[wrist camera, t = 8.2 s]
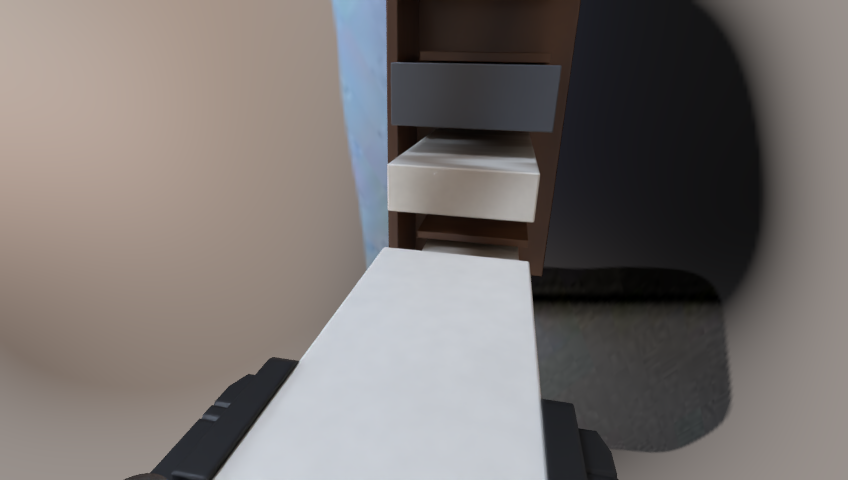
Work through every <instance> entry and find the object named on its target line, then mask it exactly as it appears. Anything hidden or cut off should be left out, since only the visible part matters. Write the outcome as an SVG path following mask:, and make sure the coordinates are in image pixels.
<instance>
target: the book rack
mask: <svg viewBox="0 0 848 480" xmlns="http://www.w3.org/2000/svg"><path fill="white" fill-rule="evenodd" d="M580 3H581V0H386V21H387V119H388V165H387V182H388V217H389V248H399V249H409V250H419V251H429V252H439V253H449V254H459V255H469V256H479V257H489V258H499V259H509V260H519V261H528V262H529V264H530V275H536V276H542V273H543V265H544V258H545V251H546V244H547V237H548V230H549V222H550V215H551V209H552V201H553V194H554V186H555V180H556V173H557V166H558V159H559V152H560V145H561V138H562V130H563V123H564V116H565V109H566V102H567V95H568V87H569V80H570V74H571V67H572V59H573V52H574V44H575V38H576V31H577V23H578V16H579V10H580Z"/></svg>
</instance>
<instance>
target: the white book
mask: <svg viewBox="0 0 848 480" xmlns="http://www.w3.org/2000/svg"><path fill="white" fill-rule="evenodd" d="M212 480H548V478H547V466H546V454H545V443H544V431H543V419H542V407H541V389H540V377H539V366H538V354H537V343H536V332H535V320H534V309H533V297H532V286H531V275H530V264H529V262H528V261H519V260H509V259H499V258H489V257H479V256H469V255H459V254H449V253H439V252H429V251H419V250H409V249H399V248H389V247H384V248H383V249H382V250H381V252H380V253H379V255H378V256H377V257H376V259H375V260H374V261H373V263H372V264H371V265H370V267H369V268H368V269H367V271H366V272H365V273H364V275H363V276H362V278H361V279H360V280H359V281H358V283H357V284H356V286H355V287H354V288H353V290H352V291H351V293H350V294H349V295H348V296H347V298H346V299H345V300H344V302H343V303H342V304H341V306H340V307H339V308H338V310H337V311H336V313H335V314H334V315H333V317H332V318H331V319H330V321H329V322H328V323H327V325H326V326H325V327H324V329H323V330H322V331H321V333H320V334H319V335H318V337H317V338H316V339H315V341H314V342H313V344H312V345H311V346H310V348H309V349H308V350H307V352H306V353H305V354H304V356H303V357H302V358H301V360H300V361H299V362H298V364H297V365H296V366H295V368H294V369H293V370H292V372H291V373H290V375H289V376H288V377H287V379H286V380H285V381H284V383H283V384H282V385H281V387H280V388H279V389H278V391H277V392H276V393H275V395H274V396H273V397H272V399H271V400H270V401H269V403H268V404H267V406H266V407H265V408H264V410H263V411H262V412H261V414H260V415H259V416H258V418H257V419H256V420H255V422H254V423H253V424H252V426H251V427H250V428H249V430H248V431H247V432H246V434H245V435H244V437H243V438H242V439H241V441H240V442H239V443H238V445H237V446H236V447H235V449H234V450H233V451H232V453H231V454H230V455H229V457H228V458H227V459H226V461H225V462H224V464H223V465H222V466H221V468H220V469H219V470H218V472H217V473H216V474H215V476H214V477H213V478H212Z"/></svg>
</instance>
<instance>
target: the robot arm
mask: <svg viewBox="0 0 848 480" xmlns="http://www.w3.org/2000/svg"><path fill="white" fill-rule="evenodd" d="M298 362H299V361H295V360H289V359H282V358H275V357H272V358H270V359H269V360H268V361H267V362H266V363H265V364H264V365H263V367H262V368H261V369H260V370H259V371H258V373H257V374H256V375H251V374H248V375H246V376H245V377H243V378H241V379H240V380H238V381H237V382H235V383H233V384H232V385H230V386H229V387H228V388H227V389H226V390H225V391H224V392H223V393H222V395H221V396H220V397H219V398H218V399H217V400H216V401H215V404H214V405H212V406H211V407H210V408H209V409H208V410H207V411H206V412H205V413H204V414H203V417H202V419H199V420H198V421H197V422H196V423H195V424H194V425H193V426H192V428H191V429H190V430H189V431H188V432H187V433H186V434H185V435H184V436H183V438H182V439H181V440H180V441H179V442H178V443H177V444H176V445H175V446H174V447H173V448H172V450H171V451H170V452H169V453H168V454H167V455H166V456H165V457H164V459H163V460H162V461H161V462H160V463H159V464H158V465H157V466H156V467H155V468H154V469H153V470H152V471H151V472H150V473H145V474H139V475H136V476H132V477H129V478H127V479H125V480H212V478H213V477H214V476H215V474H216V473H217V472H218V470H219V469H220V468H221V466H222V465H223V464H224V462H225V461H226V459H227V458H228V457H229V455H230V454H231V453H232V451H233V450H234V449H235V447H236V446H237V445H238V443H239V442H240V441H241V439H242V438H243V437H244V435H245V434H246V432H247V431H248V430H249V428H250V427H251V426H252V424H253V423H254V422H255V420H256V419H257V418H258V416H259V415H260V414H261V412H262V411H263V410H264V408H265V407H266V406H267V404H268V403H269V401H270V400H271V399H272V397H273V396H274V395H275V393H276V392H277V391H278V389H279V388H280V387H281V385H282V384H283V383H284V381H285V380H286V379H287V377H288V376H289V375H290V373H291V372H292V370H293V369H294V368H295V366H296V365H297V364H298ZM541 407H542V419H543V431H544V443H545V454H546V466H547V478H548V480H618V479H617V473H616V469H615V465H614V461H613V457H612V453H611V451H610V450H609V448H608V447H607V445H606V444H605V443H604V441H603V440H602V438H601V437H600V436H599V434H598V433H597V431H591V430H585V429H579V428H578V425H577V420H576V414H575V409H574V405H573V404H572V403H565V402H559V401H552V400H546V399H541Z"/></svg>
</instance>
